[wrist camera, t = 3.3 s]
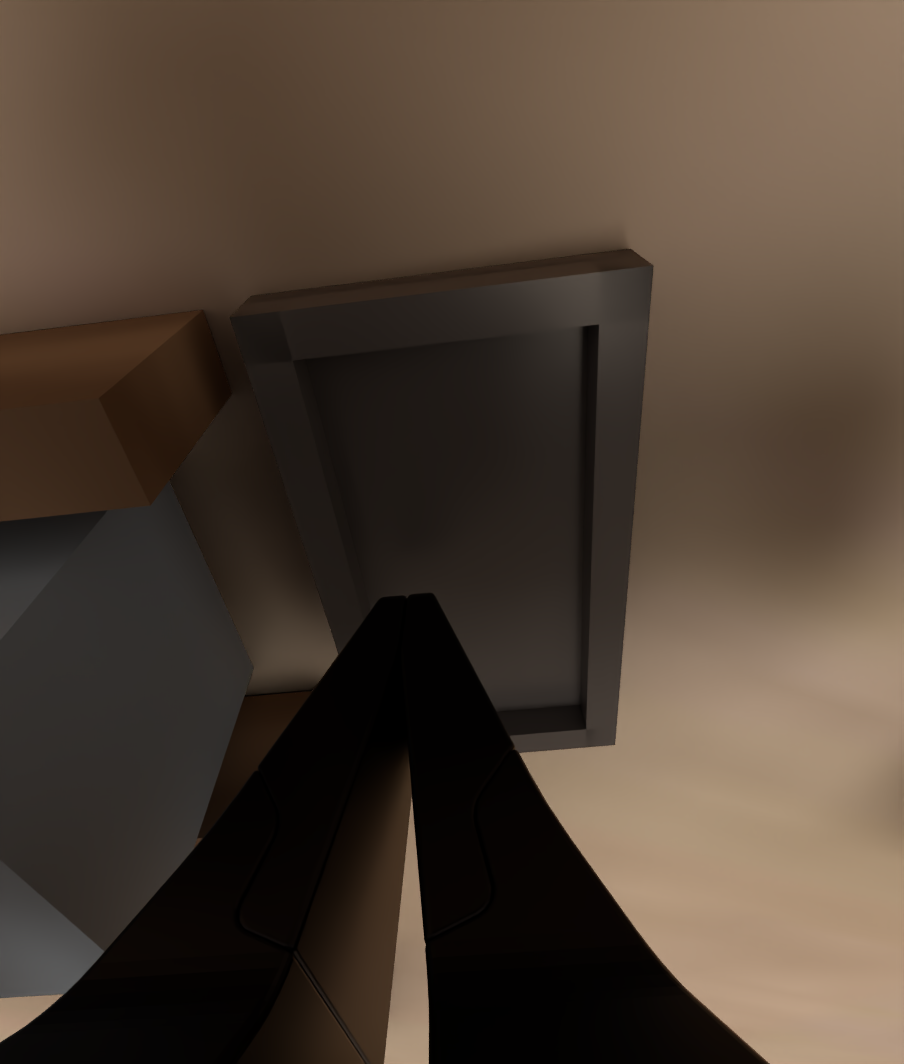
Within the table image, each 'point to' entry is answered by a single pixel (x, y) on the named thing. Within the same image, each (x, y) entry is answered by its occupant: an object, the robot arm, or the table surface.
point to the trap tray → (471, 464)
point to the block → (103, 726)
